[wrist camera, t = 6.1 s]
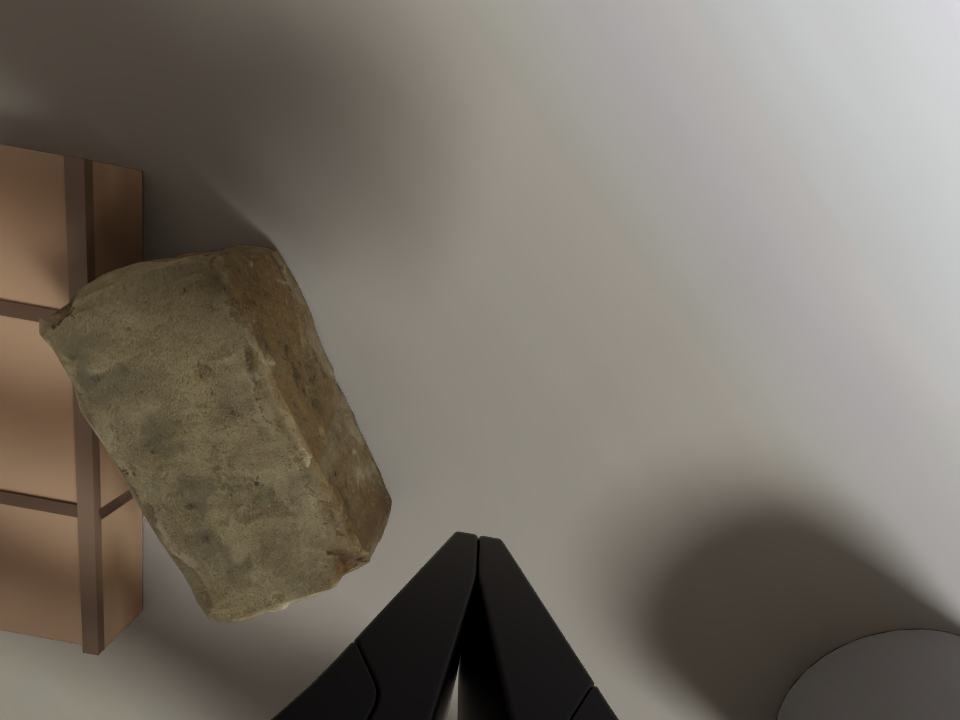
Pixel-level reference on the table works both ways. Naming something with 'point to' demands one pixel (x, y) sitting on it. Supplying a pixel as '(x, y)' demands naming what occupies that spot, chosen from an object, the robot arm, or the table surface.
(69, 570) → the wooden furniture piece
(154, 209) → the table surface
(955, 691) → the coffee mug
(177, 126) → the table surface
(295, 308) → the stone block
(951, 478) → the table surface
